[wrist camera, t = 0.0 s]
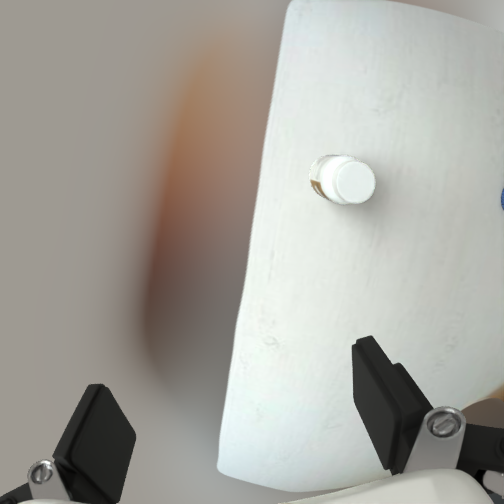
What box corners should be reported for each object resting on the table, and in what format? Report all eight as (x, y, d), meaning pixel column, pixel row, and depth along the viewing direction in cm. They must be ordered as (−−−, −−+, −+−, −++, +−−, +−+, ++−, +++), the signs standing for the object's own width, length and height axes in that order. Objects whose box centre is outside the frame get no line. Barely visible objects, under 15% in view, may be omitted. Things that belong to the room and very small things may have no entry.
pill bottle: (303, 191, 31) (323, 201, 24) (314, 149, 30) (339, 147, 23) (342, 202, 32) (372, 216, 24) (353, 163, 31) (387, 165, 23)
